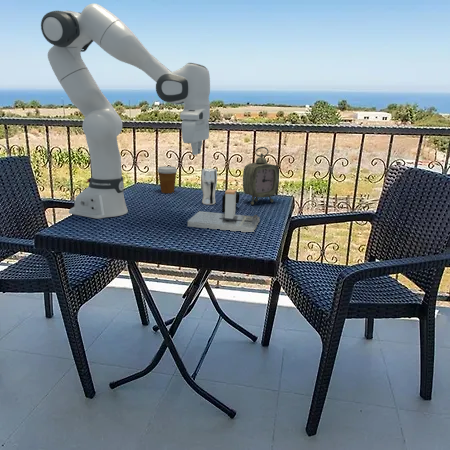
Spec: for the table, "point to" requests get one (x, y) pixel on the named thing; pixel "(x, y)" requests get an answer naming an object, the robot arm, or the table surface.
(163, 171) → the disposable coffee cup
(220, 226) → the plate
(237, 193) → the digital camera
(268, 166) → the tabletop clock
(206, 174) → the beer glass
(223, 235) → the table surface
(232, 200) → the fader tab
